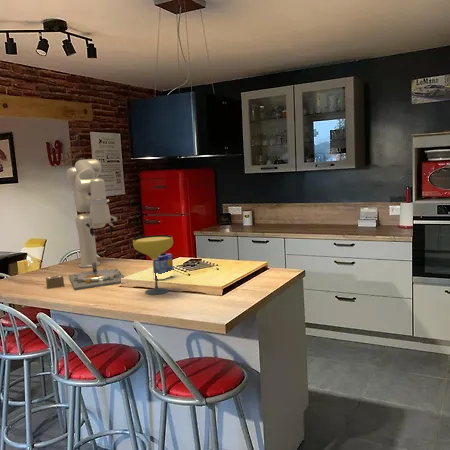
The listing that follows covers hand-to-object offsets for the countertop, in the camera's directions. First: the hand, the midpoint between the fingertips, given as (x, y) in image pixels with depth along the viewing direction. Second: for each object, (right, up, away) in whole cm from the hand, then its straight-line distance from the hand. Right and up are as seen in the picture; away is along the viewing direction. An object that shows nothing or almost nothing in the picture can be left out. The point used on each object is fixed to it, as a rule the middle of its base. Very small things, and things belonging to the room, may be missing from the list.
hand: (101, 234), depth 250 cm
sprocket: (-2, -22, -3) cm, 22 cm away
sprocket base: (-2, -24, -3) cm, 24 cm away
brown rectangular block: (-20, -26, -13) cm, 35 cm away
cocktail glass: (+34, -26, -33) cm, 54 cm away
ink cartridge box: (+34, -23, -7) cm, 41 cm away
